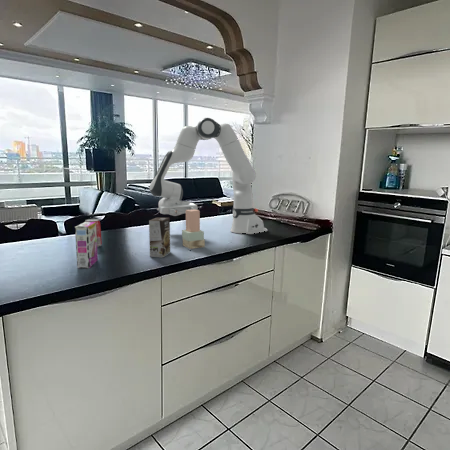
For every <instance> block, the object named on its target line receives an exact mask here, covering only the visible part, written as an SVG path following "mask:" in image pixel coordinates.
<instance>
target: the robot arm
mask: <svg viewBox="0 0 450 450" xmlns="http://www.w3.org/2000/svg"><path fill="white" fill-rule="evenodd" d="M212 139H215V141H217V143H218V145H219V147H220V149H221V152H222V154H223V156H224V158H225V160H226V161H227V164H228V165H229V167H230V168H231V171H232V189H233V207H232V223H231V228H230V232H232V233H235V234H242V233H246V234H245V235H247V234H248V235H255V234H259V232H260V233H264V231H265V232H268V229H267V228H266V227H265V226H264V220H262V219H261V218H260V217H259V216H258V215H257V214H256V213H258V212H259V209H258V208H254V207H253V198H254V196H253V190H252V183H253V182H254V181H255V180H256V177H257V173H256V171H255V168H254V167H253V165H252V163H251V162H250V160H249V158H248V156H247V154H246V153H245V151H244V149H243V146H242V144H241V142H240V139H239V138H238V135H237V134H236V132H235V130H234V129H233V127H232V126H231V125H230V123H229V124H228V123H221V124H220V123H219V122H217V121H215V119H213V118H210V117H204V118H202V119H200V120H199V122H198V123H197V125H196V126H190V125H186V126H184V127H182V129H181V130H180V132H179V134H178V137H177V139H176V142H175V145H174V147H173V148H172V150H169V151H168V152H166V153H165V155H164V156H163V159H162V161H161V164H160V166H159V168H158V170H157V171H156V173H155V176H154V177H153V179H152V180H151V182H150V184H149V192H150V193H151V195H152V196H154V197H159V198H160V199H159V201H158V205H157V206H158V208H156V210H157V211H158V212H159V213H160V214H162V215H170V216H173V217H178V216H180V215H183V214H186V210H193V209H195V210H198V205H197V204H196V203H193V202H190V201H188V200H182V199H183V196H184V190H183V187H182V185H181V184H180V183H177V182H173V181H169V180H165V176H166V175H167V172H168V171H169V169H170V167H171V166H172V165H174V164H179V163H186V162H189V161H190V160H192V159H193V157H194V155H195V151H196V149H197V145H198V142H199V141H201V140H202V141H205V140H206V141H208V140H212ZM255 212H256V213H255ZM254 233H255V234H254Z"/></svg>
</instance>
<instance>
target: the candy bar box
mask: <svg viewBox="0 0 450 450" xmlns="http://www.w3.org/2000/svg"><path fill="white" fill-rule="evenodd" d="M74 233H75V251H76V252H75V253H76V268H77V269H91V268H92V266H93V265H95V264H96V262H98V261H99V259H98V258H99V256H98V247H97V233H96V222H85V221H84V222H81V223H80V224H77V225H76V226H74Z"/></svg>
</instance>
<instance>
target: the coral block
mask: <svg viewBox="0 0 450 450" xmlns="http://www.w3.org/2000/svg"><path fill="white" fill-rule="evenodd" d="M200 213H201V211H200V210H199V209H197V210H195V209H193V210H186V213H185V230H186V231H189V232H197V231H200V230H201V228H200V227H201V226H200V225H201V217H200V215H201V214H200Z"/></svg>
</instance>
